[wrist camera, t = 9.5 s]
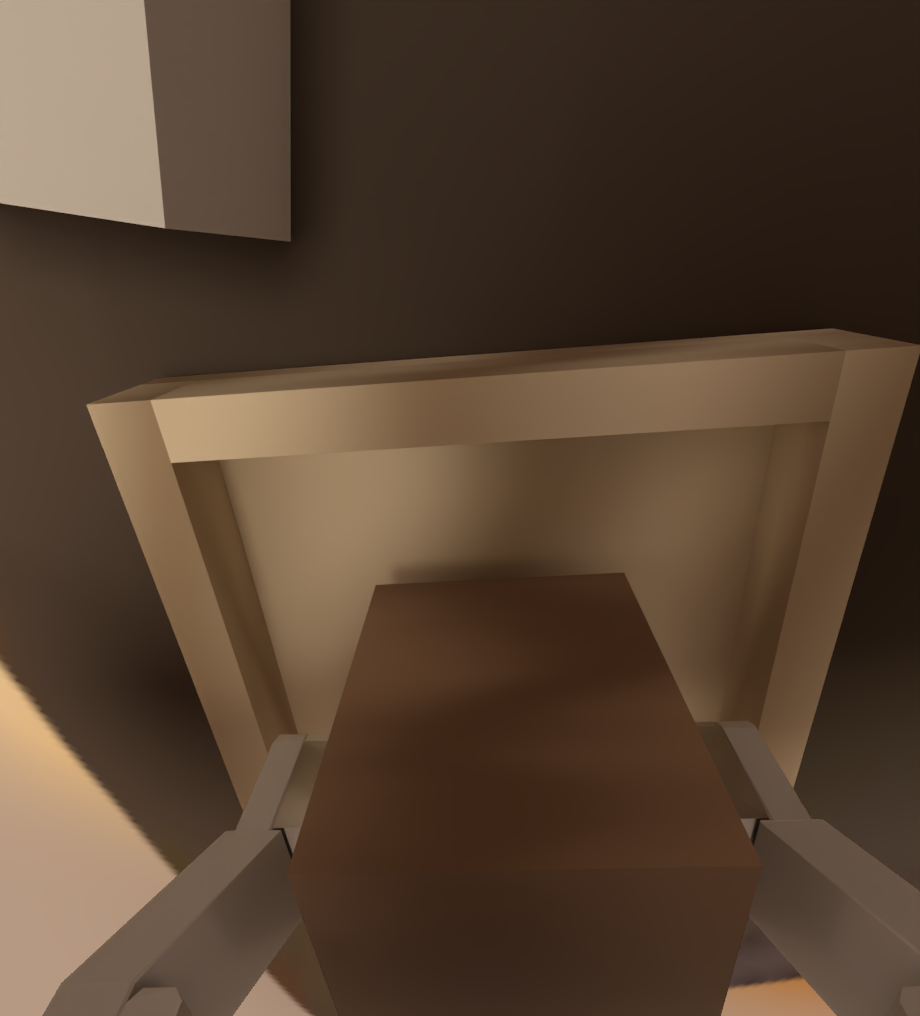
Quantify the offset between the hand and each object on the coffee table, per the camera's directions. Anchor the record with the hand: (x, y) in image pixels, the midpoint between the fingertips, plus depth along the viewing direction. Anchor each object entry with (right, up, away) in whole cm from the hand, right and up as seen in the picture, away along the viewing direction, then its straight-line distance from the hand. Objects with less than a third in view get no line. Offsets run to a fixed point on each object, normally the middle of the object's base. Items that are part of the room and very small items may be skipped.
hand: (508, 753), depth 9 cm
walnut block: (0, +1, +2) cm, 2 cm away
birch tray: (0, +1, +3) cm, 4 cm away
